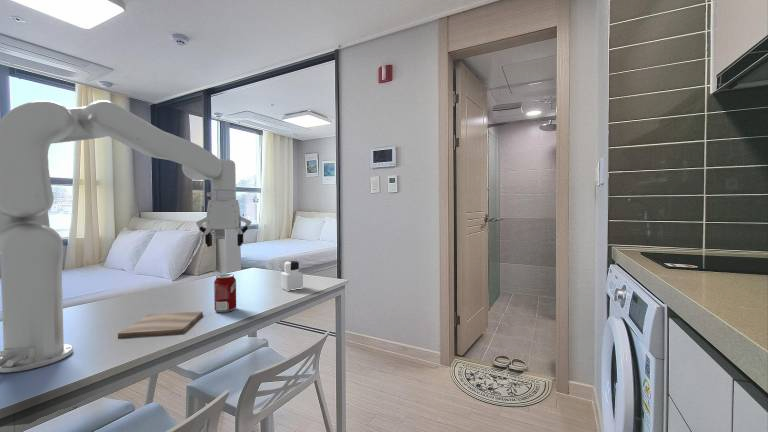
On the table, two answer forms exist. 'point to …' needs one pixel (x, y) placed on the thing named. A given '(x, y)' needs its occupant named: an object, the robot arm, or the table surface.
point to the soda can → (225, 293)
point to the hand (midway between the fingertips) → (224, 245)
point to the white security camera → (291, 276)
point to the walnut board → (161, 324)
